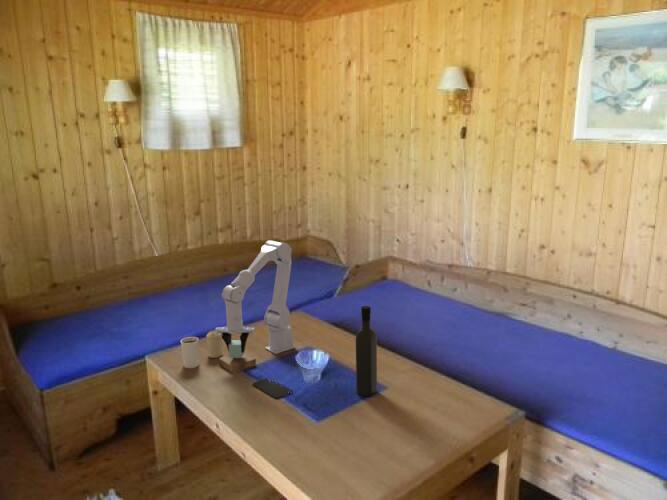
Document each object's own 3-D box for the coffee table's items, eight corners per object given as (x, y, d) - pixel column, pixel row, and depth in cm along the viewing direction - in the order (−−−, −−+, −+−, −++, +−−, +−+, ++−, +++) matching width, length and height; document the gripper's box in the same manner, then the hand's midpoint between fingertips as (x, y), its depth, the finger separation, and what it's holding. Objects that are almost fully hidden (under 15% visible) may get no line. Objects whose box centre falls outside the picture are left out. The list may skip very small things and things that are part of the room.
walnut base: (242, 358, 214) (241, 351, 213) (256, 366, 207) (255, 358, 206) (219, 365, 208) (218, 358, 207) (232, 374, 200) (232, 366, 200)
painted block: (232, 352, 209) (231, 340, 207) (244, 352, 208) (243, 340, 207) (229, 357, 204) (228, 344, 203) (241, 357, 204) (240, 345, 203)
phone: (267, 377, 195) (294, 390, 185) (268, 379, 196) (294, 393, 185) (250, 383, 191) (276, 398, 180) (250, 386, 191) (276, 400, 180)
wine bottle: (363, 387, 187) (362, 303, 180) (378, 390, 184) (377, 306, 178) (355, 394, 182) (353, 308, 176) (370, 398, 179) (369, 311, 173)
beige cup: (203, 362, 210) (201, 337, 208) (195, 369, 204) (192, 344, 202) (188, 360, 212) (186, 336, 210) (179, 367, 206) (176, 342, 204)
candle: (220, 358, 214) (218, 333, 211) (206, 358, 214) (204, 334, 212) (223, 352, 219) (221, 328, 217) (209, 352, 219) (208, 328, 217)
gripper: (212, 320, 200) (214, 355, 203) (251, 321, 198) (253, 356, 201) (217, 314, 207) (220, 347, 210) (255, 314, 205) (257, 348, 208)
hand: (236, 351), depth 206 cm, fingers closed on painted block, 4 cm apart
